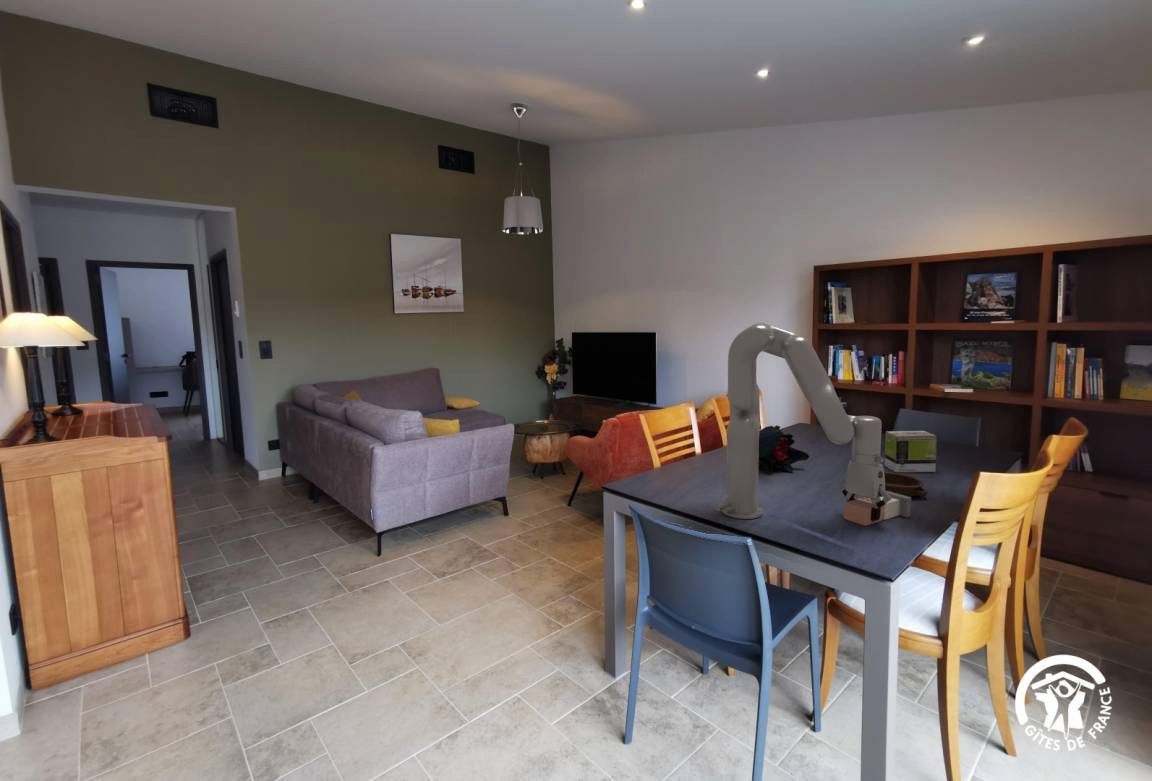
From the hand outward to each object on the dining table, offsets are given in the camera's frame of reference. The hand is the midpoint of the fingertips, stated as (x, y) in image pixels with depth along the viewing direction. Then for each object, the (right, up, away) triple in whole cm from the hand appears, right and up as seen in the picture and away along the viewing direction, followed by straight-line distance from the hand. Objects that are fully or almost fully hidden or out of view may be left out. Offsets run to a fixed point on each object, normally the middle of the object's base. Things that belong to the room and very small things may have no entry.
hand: (863, 515), depth 170 cm
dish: (+24, +2, +29) cm, 37 cm away
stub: (0, -1, 0) cm, 1 cm away
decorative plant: (-5, +5, +59) cm, 59 cm away
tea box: (+46, +6, +55) cm, 72 cm away
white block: (+10, -1, +6) cm, 11 cm away
